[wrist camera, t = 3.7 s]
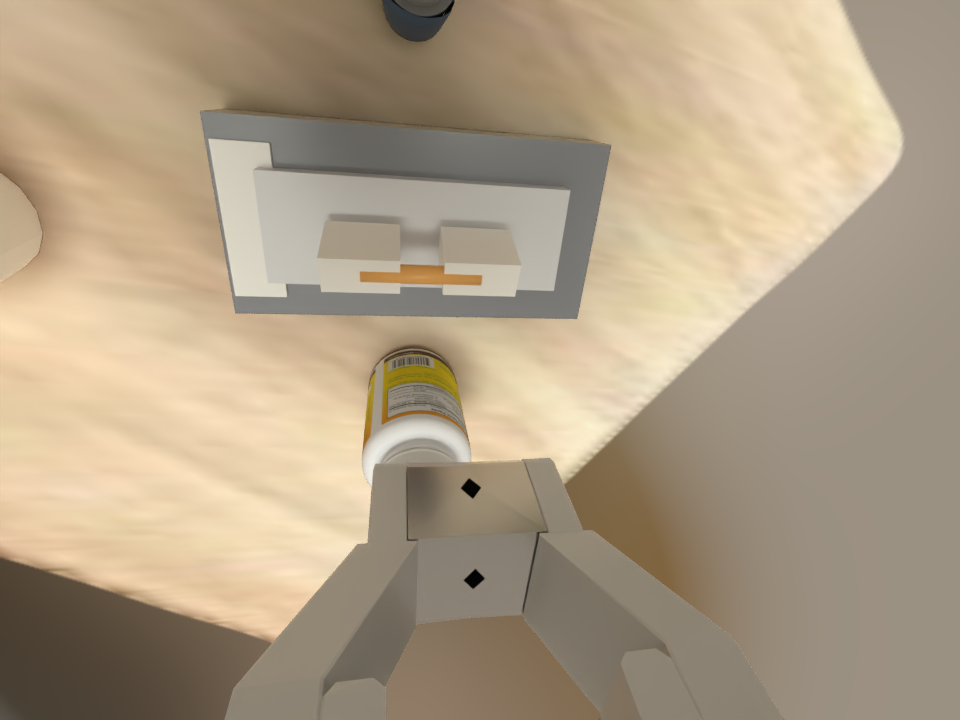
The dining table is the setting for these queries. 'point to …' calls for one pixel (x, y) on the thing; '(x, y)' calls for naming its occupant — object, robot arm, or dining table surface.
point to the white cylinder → (17, 229)
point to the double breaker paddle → (376, 265)
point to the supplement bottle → (413, 413)
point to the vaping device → (417, 17)
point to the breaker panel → (398, 208)
